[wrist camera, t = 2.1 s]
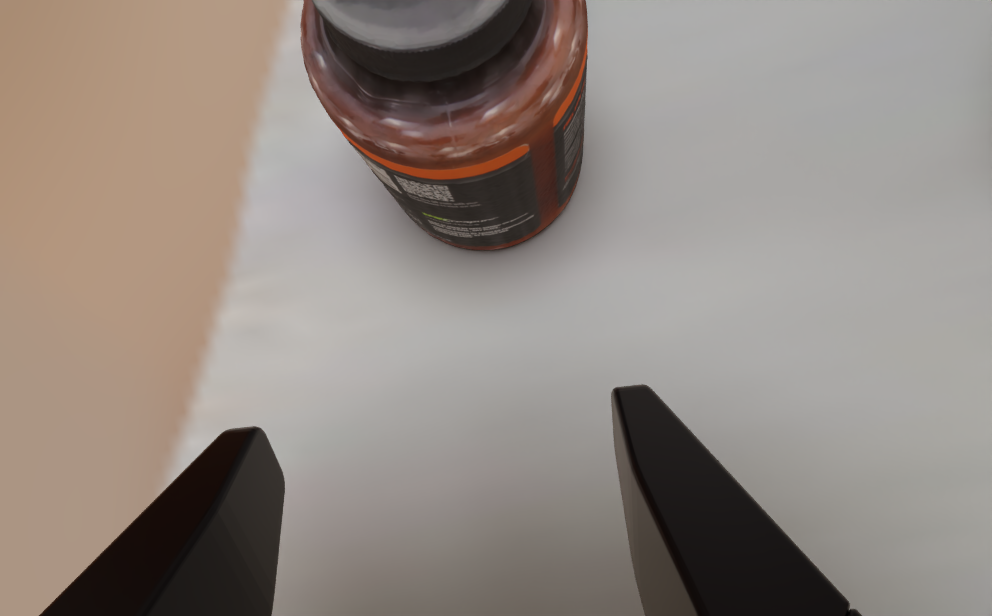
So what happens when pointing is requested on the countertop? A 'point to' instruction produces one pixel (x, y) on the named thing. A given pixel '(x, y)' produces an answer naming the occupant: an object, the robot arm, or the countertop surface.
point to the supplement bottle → (458, 106)
